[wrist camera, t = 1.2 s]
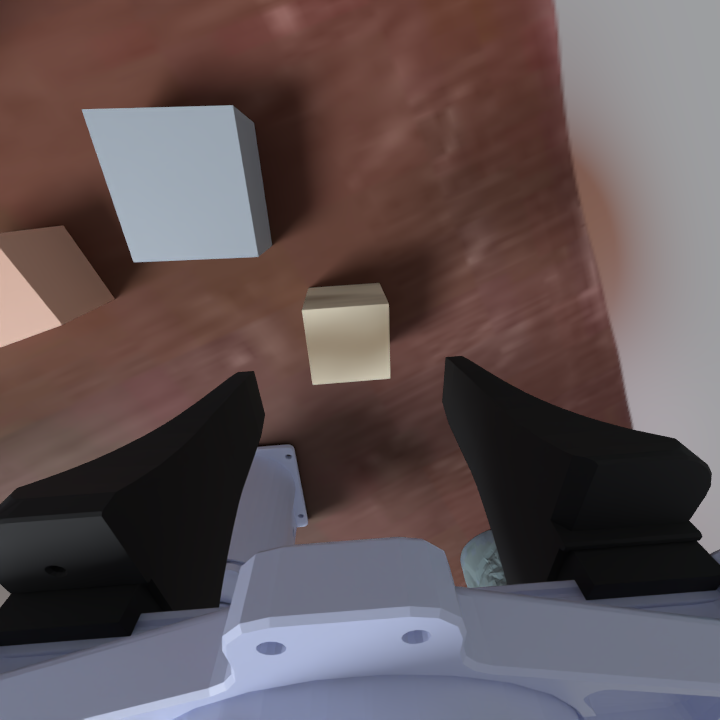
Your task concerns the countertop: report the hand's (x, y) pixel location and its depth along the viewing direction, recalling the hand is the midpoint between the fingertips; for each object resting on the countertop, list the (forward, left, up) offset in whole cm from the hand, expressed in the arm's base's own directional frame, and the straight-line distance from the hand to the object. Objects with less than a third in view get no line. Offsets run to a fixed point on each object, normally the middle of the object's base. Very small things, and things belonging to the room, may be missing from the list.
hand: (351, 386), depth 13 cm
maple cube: (-1, 0, -10) cm, 10 cm away
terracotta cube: (+3, +17, -10) cm, 20 cm away
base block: (+7, +7, -10) cm, 14 cm away
